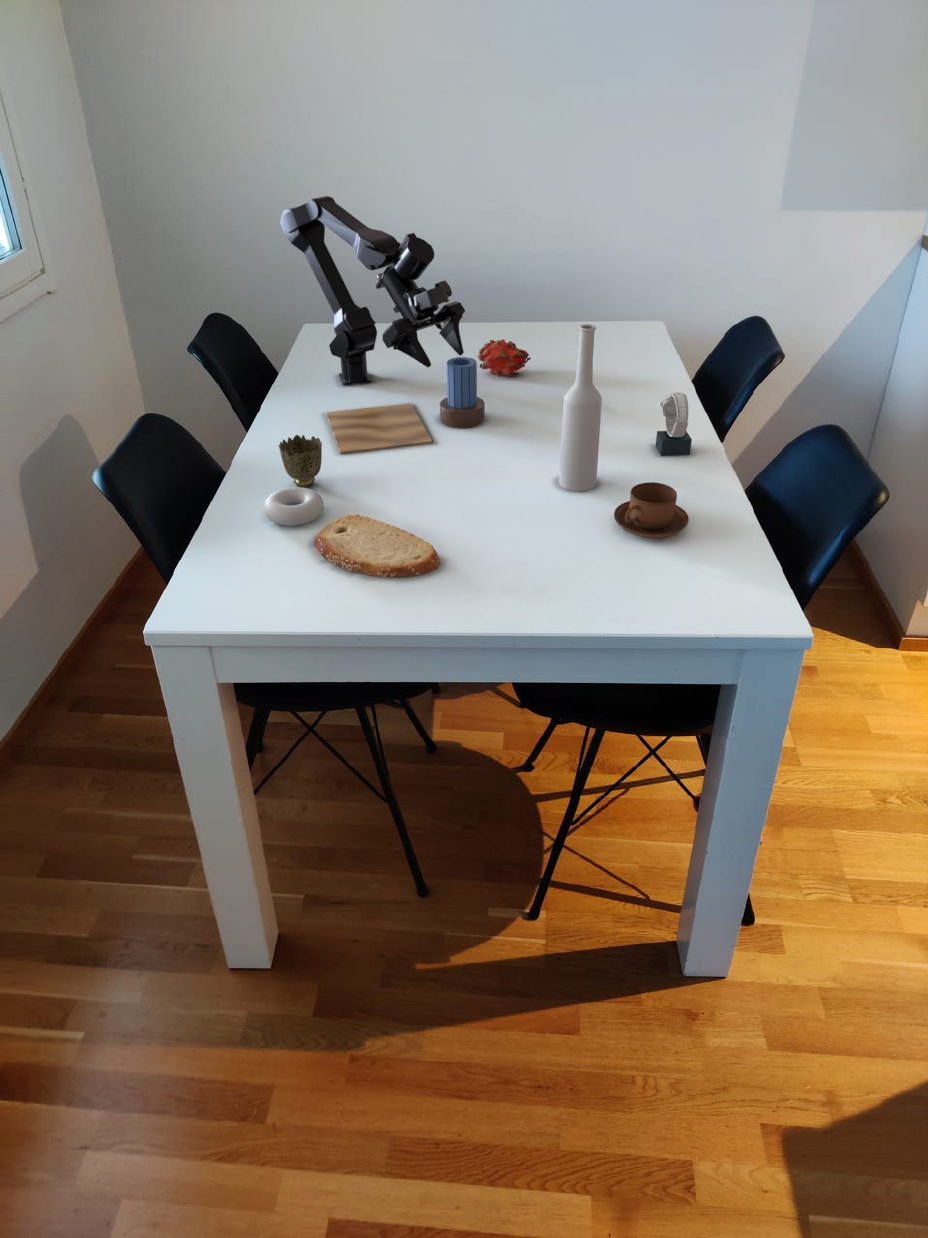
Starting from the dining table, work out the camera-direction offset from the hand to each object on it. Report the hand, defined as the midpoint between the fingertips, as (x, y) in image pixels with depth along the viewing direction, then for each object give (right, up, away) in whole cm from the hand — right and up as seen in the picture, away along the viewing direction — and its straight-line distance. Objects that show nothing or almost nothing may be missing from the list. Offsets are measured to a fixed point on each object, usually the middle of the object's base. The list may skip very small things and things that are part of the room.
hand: (446, 360), depth 188 cm
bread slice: (-10, -41, -39) cm, 58 cm away
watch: (+43, -20, -9) cm, 48 cm away
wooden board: (-14, -13, +1) cm, 19 cm away
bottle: (+24, -28, -20) cm, 42 cm away
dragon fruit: (+13, +4, +25) cm, 28 cm away
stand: (+3, -11, +4) cm, 12 cm away
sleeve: (+3, -8, +2) cm, 9 cm away
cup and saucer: (+34, -37, -33) cm, 60 cm away
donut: (-25, -34, -28) cm, 51 cm away
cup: (-25, -28, -19) cm, 42 cm away
